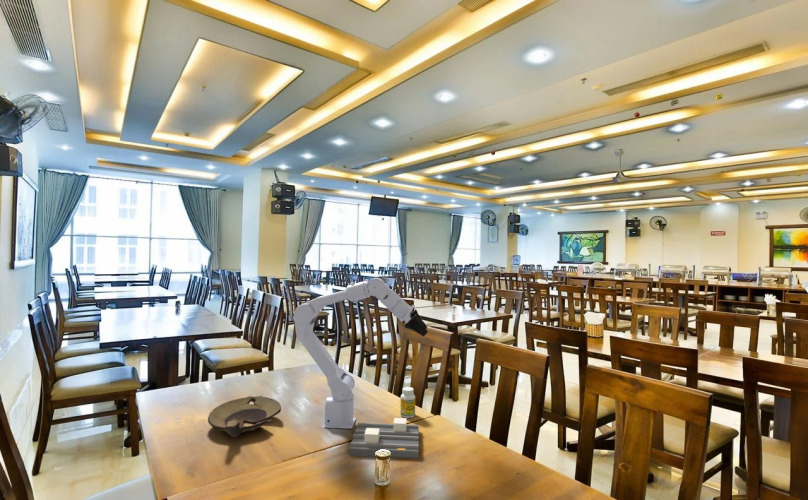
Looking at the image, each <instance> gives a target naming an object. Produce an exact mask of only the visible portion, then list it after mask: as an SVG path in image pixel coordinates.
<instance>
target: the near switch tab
mask: <svg viewBox="0 0 808 500" xmlns="http://www.w3.org/2000/svg"><path fill="white" fill-rule="evenodd" d="M378 442H379V428H366V431H365V439H364V443H378Z"/></svg>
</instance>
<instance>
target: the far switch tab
mask: <svg viewBox="0 0 808 500" xmlns="http://www.w3.org/2000/svg"><path fill="white" fill-rule="evenodd" d="M407 419H408V418H404V417H394V418H393V423H392V424H393V431H397V432H406V425H407V422H408V421H407Z"/></svg>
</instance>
